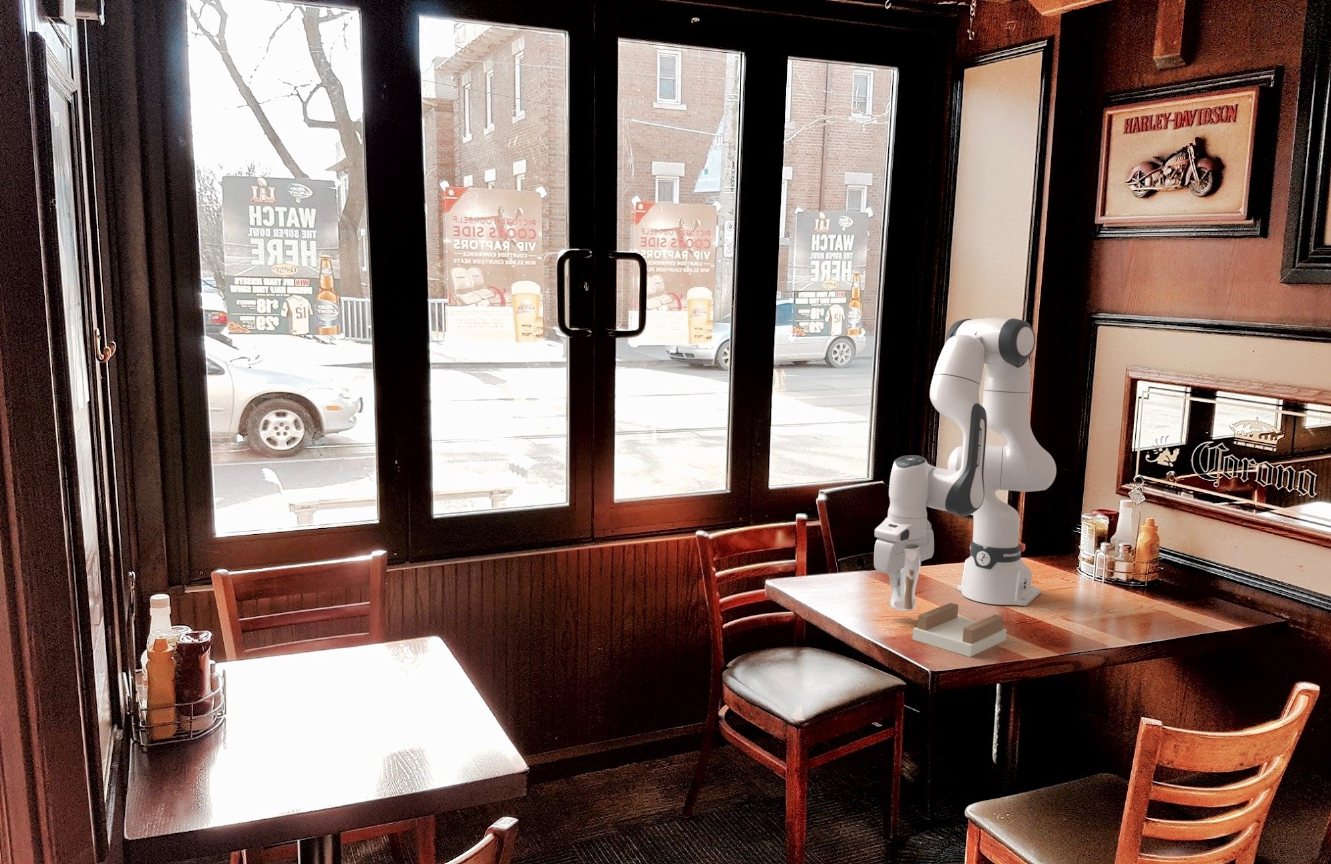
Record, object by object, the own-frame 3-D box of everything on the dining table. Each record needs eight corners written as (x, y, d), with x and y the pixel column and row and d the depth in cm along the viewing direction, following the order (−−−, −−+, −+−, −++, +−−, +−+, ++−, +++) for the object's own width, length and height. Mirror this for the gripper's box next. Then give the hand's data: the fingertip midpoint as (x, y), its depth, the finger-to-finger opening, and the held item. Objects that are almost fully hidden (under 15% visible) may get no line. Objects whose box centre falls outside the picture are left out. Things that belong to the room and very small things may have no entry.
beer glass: (918, 612, 227) (921, 549, 225) (887, 610, 229) (890, 547, 227) (916, 603, 234) (920, 542, 232) (886, 601, 236) (890, 540, 233)
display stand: (949, 624, 230) (950, 601, 229) (1005, 640, 220) (1007, 616, 219) (912, 639, 219) (913, 615, 218) (970, 657, 209) (972, 632, 208)
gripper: (919, 515, 238) (915, 570, 240) (870, 531, 224) (867, 589, 226) (942, 520, 233) (939, 576, 236) (894, 536, 219) (890, 596, 222)
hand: (903, 583), depth 231 cm, fingers closed on beer glass, 6 cm apart
